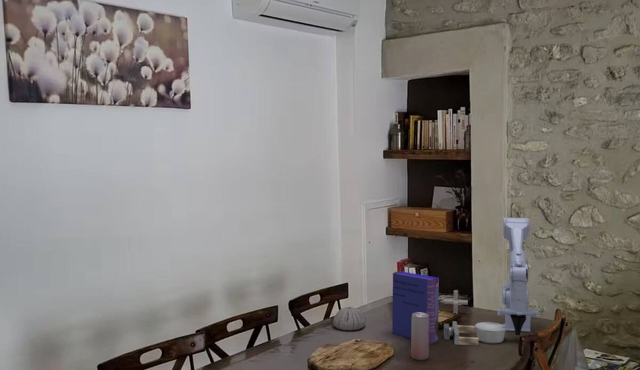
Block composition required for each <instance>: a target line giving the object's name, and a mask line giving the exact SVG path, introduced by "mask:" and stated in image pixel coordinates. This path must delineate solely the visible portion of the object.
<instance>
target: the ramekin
mask: <svg viewBox="0 0 640 370" xmlns="http://www.w3.org/2000/svg"><path fill="white" fill-rule="evenodd" d="M474 326H475V334H476V338H479V341H480V342H483V343H486V344H500V343H502V342H504V339H505V334H506V332H507V330H506V327H505V326H504V325H503V324H501V323H498V322H491V321H485V322H477V323H476V324H475V325H474Z"/></svg>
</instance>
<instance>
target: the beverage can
mask: <svg viewBox="0 0 640 370" xmlns="http://www.w3.org/2000/svg"><path fill="white" fill-rule="evenodd" d="M410 340H411V341H410V342H411V343H410V345H411V346H410V356H411V358H412V359H414V360H416V361H425V360H428V358H429V353H430V352H429V351H430V350H429V349H430V346H429V345H430V344H429V315H428V314H426V313H421V312H417V313H413V314H412V317H411V339H410Z"/></svg>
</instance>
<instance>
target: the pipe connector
mask: <svg viewBox="0 0 640 370" xmlns="http://www.w3.org/2000/svg"><path fill="white" fill-rule="evenodd" d="M443 304H447V305H449V304H450V305H453V312H452V313H456V314H455V315H458V313H459V312H458V311H459V305H467V306H468V300H467V299H466V300H465V299H459V290H458V289H455V290H453V299H443Z"/></svg>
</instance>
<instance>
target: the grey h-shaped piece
mask: <svg viewBox="0 0 640 370" xmlns="http://www.w3.org/2000/svg"><path fill="white" fill-rule="evenodd" d="M457 325H458V321H456V320H455V321H452V326H450V323H443V340H444V341H449V340H450V337H451V338H453V342H454V345H457V346H460V345H459V337H460V333H459V331H458V326H457Z"/></svg>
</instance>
